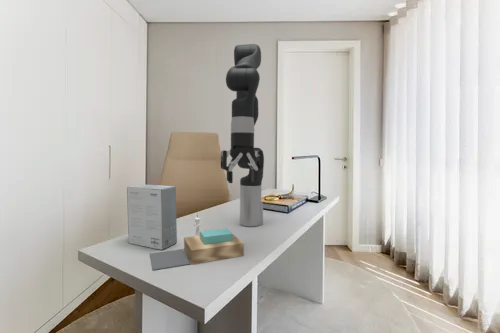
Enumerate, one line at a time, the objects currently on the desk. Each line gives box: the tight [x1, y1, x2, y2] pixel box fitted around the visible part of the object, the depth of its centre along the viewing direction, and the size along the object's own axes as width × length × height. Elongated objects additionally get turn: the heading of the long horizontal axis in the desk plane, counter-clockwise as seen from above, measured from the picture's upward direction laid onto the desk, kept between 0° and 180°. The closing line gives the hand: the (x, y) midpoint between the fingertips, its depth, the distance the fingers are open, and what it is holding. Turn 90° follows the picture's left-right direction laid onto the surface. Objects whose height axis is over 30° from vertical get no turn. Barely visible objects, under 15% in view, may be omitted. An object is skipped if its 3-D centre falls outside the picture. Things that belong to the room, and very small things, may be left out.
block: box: [199, 227, 234, 245], centre depth 87 cm, size 9×6×2 cm, turn 114°
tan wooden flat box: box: [183, 233, 245, 265], centre depth 87 cm, size 16×12×4 cm
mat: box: [149, 248, 191, 271], centre depth 81 cm, size 10×12×1 cm
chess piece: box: [194, 212, 201, 236], centre depth 97 cm, size 5×5×10 cm
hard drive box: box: [126, 184, 178, 251], centre depth 94 cm, size 16×8×20 cm, turn 66°
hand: (242, 182), depth 89 cm, fingers open, 7 cm apart
